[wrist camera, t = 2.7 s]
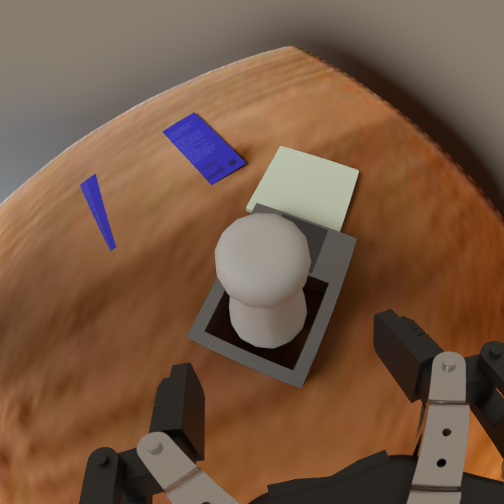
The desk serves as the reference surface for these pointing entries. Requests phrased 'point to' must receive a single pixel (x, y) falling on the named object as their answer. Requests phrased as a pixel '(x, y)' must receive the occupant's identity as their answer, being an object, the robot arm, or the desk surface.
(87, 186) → the blue cards
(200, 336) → the grey rectangular frame
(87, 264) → the desk surface
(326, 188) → the pad
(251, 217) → the salt shaker
